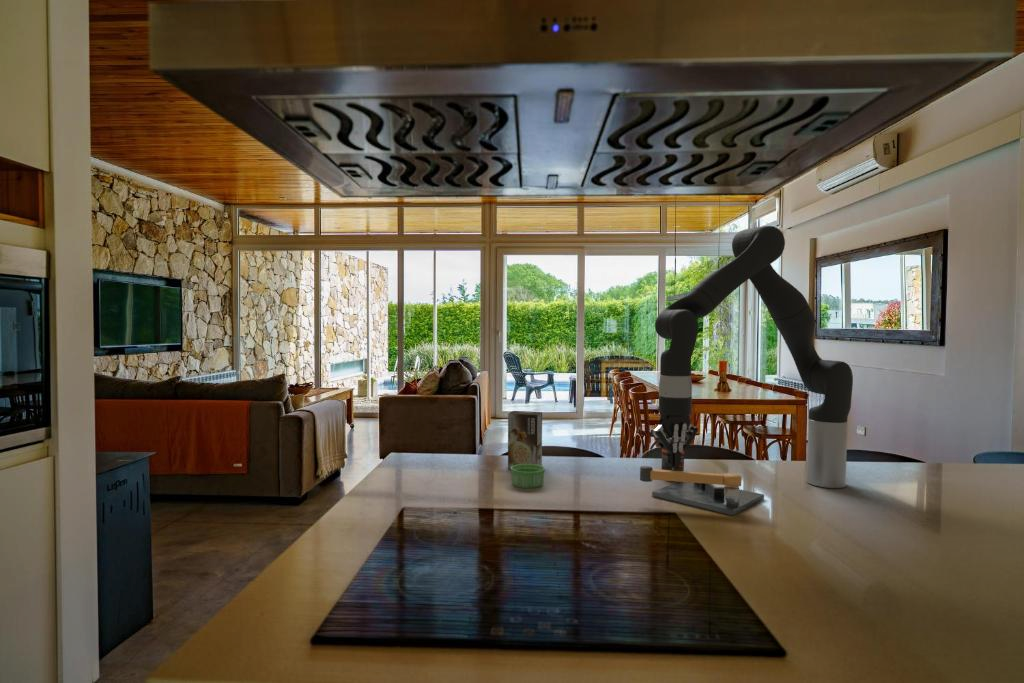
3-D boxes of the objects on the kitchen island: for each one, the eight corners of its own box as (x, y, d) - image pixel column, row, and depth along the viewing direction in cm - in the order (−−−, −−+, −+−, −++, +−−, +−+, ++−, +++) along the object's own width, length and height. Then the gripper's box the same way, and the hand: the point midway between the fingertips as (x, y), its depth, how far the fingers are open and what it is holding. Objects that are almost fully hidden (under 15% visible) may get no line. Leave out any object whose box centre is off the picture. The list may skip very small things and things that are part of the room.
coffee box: (542, 466, 172) (543, 411, 172) (537, 471, 166) (538, 414, 165) (512, 463, 175) (513, 410, 174) (506, 468, 169) (507, 413, 168)
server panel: (689, 482, 156) (689, 463, 156) (765, 498, 142) (765, 477, 142) (652, 496, 143) (652, 475, 143) (732, 515, 129) (732, 492, 129)
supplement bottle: (678, 483, 156) (679, 440, 155) (657, 479, 159) (658, 437, 159) (687, 478, 160) (687, 437, 160) (666, 475, 164) (667, 434, 164)
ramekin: (545, 480, 156) (545, 464, 156) (544, 489, 147) (544, 472, 147) (512, 479, 157) (512, 463, 157) (508, 488, 148) (509, 471, 148)
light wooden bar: (739, 485, 134) (740, 472, 134) (742, 489, 131) (742, 476, 130) (640, 477, 140) (640, 465, 140) (639, 481, 136) (640, 469, 136)
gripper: (663, 397, 132) (662, 474, 132) (708, 394, 137) (706, 468, 138) (642, 393, 138) (641, 466, 139) (685, 391, 144) (684, 461, 145)
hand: (674, 467), depth 138 cm, fingers closed
